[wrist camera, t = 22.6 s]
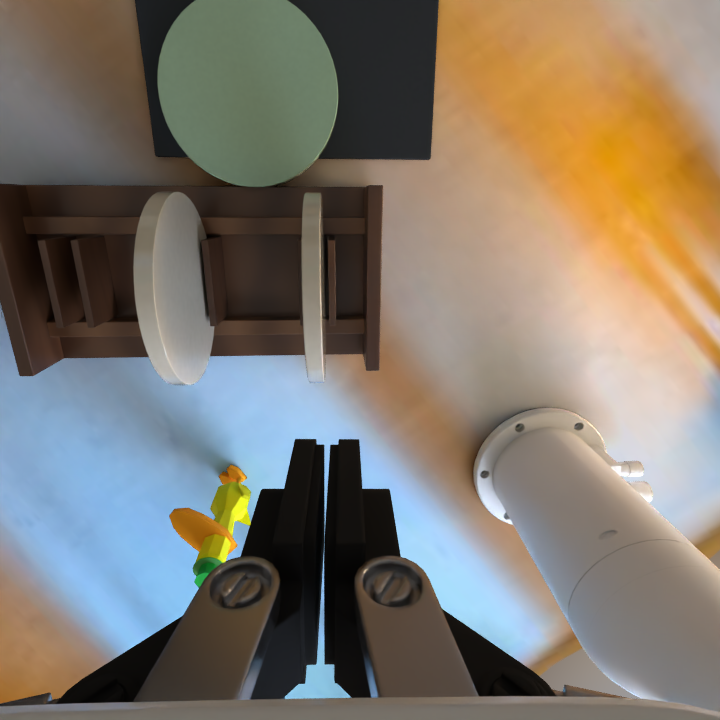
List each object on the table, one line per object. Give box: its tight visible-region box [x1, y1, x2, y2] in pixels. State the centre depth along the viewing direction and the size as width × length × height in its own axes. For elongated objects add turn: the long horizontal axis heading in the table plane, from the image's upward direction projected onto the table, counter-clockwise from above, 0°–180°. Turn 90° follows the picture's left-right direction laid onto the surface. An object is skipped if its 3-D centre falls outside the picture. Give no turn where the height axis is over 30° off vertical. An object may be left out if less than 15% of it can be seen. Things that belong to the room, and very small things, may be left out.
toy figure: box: [169, 465, 251, 588], centre depth 36 cm, size 7×4×12 cm, turn 44°
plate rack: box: [0, 184, 383, 376], centre depth 34 cm, size 26×13×5 cm, turn 90°
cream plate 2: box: [301, 192, 326, 383], centre depth 29 cm, size 1×12×12 cm, turn 0°
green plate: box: [157, 0, 338, 188], centre depth 31 cm, size 1×12×12 cm
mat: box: [135, 0, 439, 160], centre depth 31 cm, size 20×16×1 cm
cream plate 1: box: [133, 191, 214, 385], centre depth 29 cm, size 1×12×12 cm, turn 0°
